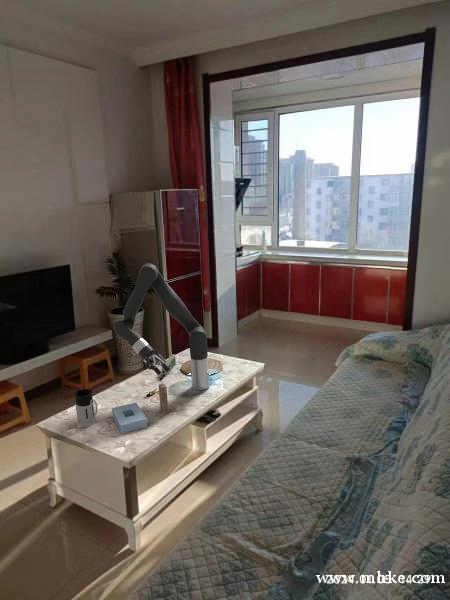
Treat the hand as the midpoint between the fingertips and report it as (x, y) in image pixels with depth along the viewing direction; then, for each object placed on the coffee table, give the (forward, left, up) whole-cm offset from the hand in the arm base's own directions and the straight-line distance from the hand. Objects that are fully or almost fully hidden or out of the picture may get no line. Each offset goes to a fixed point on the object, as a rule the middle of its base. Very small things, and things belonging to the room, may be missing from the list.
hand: (164, 372), depth 217 cm
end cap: (+15, +19, -16) cm, 29 cm away
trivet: (-17, -41, -16) cm, 47 cm away
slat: (0, +12, -16) cm, 20 cm away
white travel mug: (+33, +20, -16) cm, 42 cm away
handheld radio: (+3, -37, -16) cm, 40 cm away
